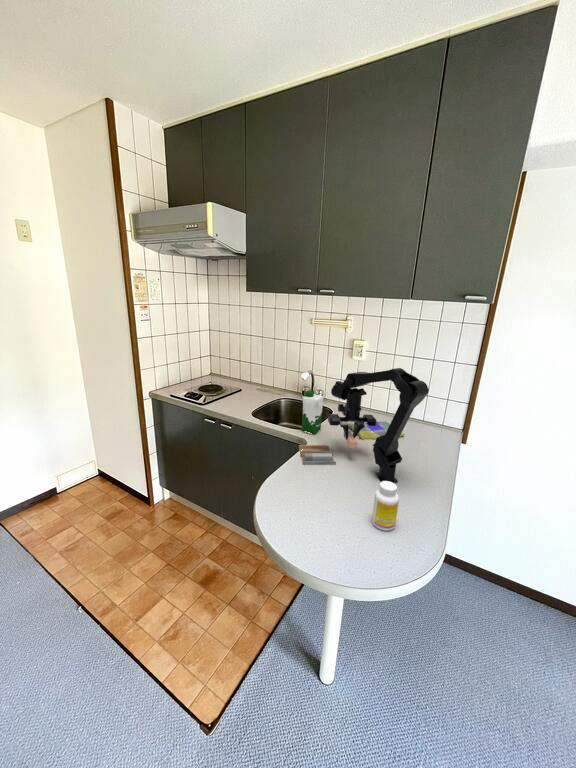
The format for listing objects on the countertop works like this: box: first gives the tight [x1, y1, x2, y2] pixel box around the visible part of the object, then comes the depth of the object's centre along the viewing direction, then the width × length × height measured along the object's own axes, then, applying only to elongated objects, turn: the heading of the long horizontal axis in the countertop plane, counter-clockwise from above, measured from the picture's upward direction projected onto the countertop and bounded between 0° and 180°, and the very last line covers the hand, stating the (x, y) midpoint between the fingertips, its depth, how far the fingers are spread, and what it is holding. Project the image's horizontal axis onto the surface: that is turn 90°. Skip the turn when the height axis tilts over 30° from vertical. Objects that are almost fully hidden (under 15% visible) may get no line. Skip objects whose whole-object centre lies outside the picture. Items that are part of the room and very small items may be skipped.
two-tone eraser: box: [343, 430, 358, 449], centre depth 129 cm, size 11×2×2 cm, turn 4°
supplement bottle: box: [371, 481, 400, 532], centre depth 91 cm, size 7×7×13 cm
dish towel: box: [347, 420, 405, 441], centre depth 157 cm, size 18×24×3 cm
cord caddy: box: [298, 444, 337, 466], centre depth 129 cm, size 15×13×2 cm
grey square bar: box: [304, 453, 334, 461], centre depth 125 cm, size 11×2×2 cm, turn 94°
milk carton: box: [301, 390, 325, 435], centre depth 152 cm, size 9×9×20 cm
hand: (349, 439), depth 129 cm, fingers closed on two-tone eraser, 2 cm apart
